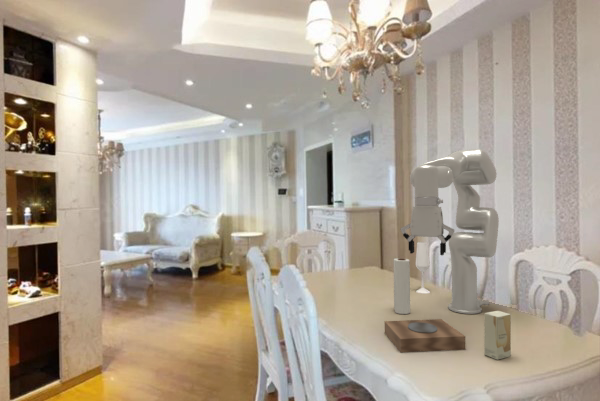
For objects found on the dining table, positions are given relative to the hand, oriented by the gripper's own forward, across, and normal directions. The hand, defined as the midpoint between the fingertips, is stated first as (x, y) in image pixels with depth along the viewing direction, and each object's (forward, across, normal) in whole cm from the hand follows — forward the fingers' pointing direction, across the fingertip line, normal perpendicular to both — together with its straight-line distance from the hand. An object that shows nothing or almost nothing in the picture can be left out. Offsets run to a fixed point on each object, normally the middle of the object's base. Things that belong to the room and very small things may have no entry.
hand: (426, 253), depth 123 cm
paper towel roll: (+27, +14, -22) cm, 37 cm away
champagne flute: (+27, +13, -58) cm, 66 cm away
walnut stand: (+27, 0, +6) cm, 28 cm away
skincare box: (+27, -21, +7) cm, 35 cm away
